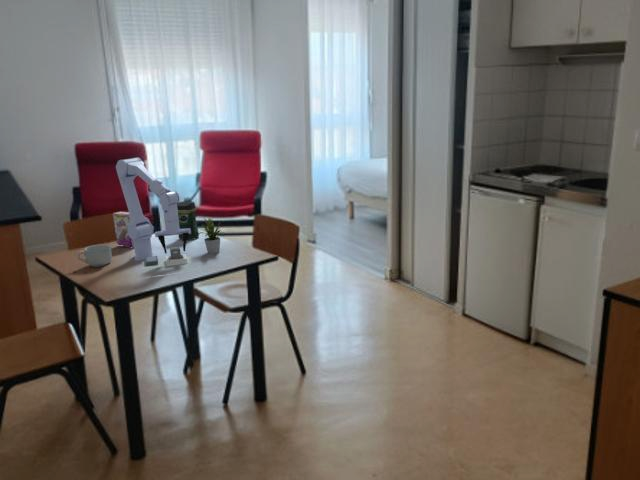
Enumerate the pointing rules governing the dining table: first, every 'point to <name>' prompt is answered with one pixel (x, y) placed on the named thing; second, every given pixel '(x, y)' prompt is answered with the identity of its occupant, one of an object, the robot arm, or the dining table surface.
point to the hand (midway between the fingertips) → (175, 251)
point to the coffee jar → (187, 218)
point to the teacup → (96, 255)
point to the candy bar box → (122, 228)
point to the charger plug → (175, 253)
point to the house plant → (212, 237)
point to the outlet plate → (168, 262)
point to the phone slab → (151, 260)
